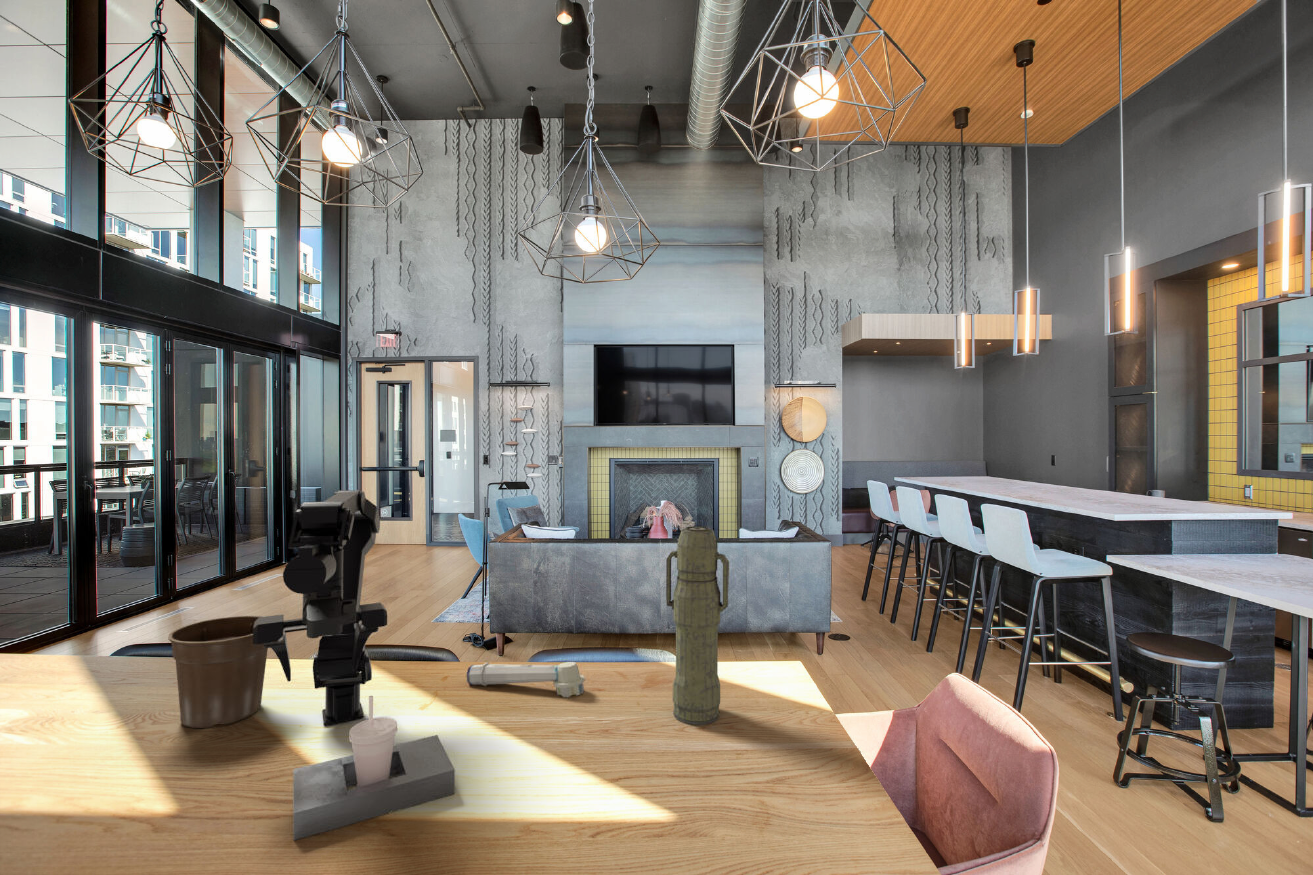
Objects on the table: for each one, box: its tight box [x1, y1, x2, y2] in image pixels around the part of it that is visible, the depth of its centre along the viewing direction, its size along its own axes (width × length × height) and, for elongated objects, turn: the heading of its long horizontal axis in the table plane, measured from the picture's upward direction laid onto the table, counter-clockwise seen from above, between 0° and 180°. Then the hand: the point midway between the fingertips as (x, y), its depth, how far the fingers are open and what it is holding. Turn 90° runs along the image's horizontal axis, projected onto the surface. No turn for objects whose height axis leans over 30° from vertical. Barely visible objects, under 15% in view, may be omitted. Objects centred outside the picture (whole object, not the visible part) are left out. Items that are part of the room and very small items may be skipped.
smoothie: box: [348, 695, 399, 787], centre depth 87 cm, size 6×6×14 cm
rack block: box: [292, 734, 456, 841], centre depth 87 cm, size 12×20×4 cm, turn 121°
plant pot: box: [167, 615, 269, 729], centre depth 112 cm, size 16×16×16 cm
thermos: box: [665, 525, 730, 726], centre depth 114 cm, size 9×12×35 cm
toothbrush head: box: [465, 661, 586, 698], centre depth 125 cm, size 5×7×25 cm
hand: (322, 674), depth 98 cm, fingers open, 9 cm apart
